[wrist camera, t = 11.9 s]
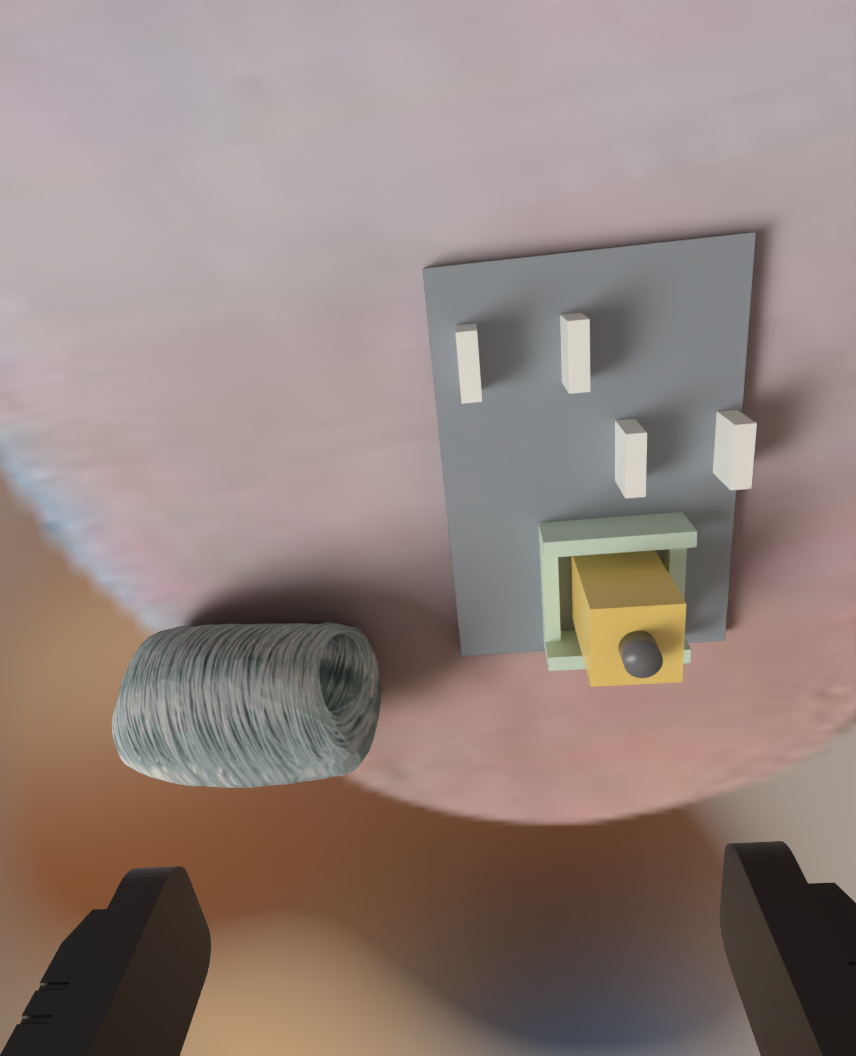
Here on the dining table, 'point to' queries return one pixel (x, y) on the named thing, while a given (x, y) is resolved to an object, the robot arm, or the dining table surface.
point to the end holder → (602, 539)
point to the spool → (248, 704)
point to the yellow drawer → (628, 618)
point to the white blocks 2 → (729, 453)
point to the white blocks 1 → (572, 357)
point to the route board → (586, 417)
